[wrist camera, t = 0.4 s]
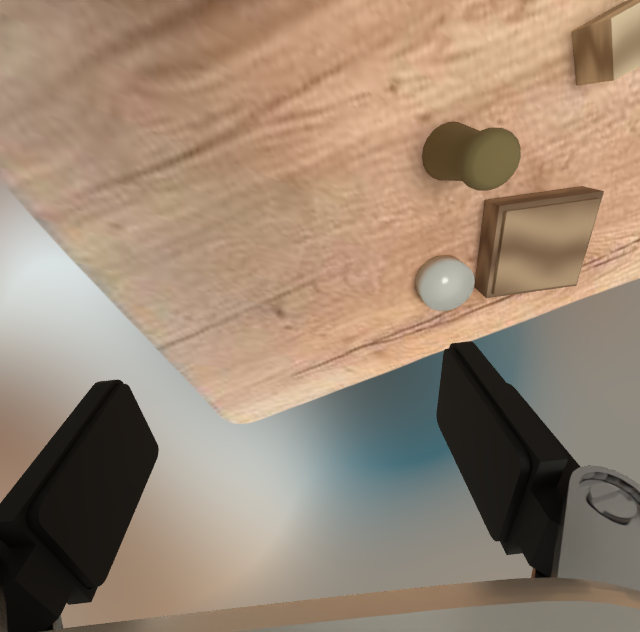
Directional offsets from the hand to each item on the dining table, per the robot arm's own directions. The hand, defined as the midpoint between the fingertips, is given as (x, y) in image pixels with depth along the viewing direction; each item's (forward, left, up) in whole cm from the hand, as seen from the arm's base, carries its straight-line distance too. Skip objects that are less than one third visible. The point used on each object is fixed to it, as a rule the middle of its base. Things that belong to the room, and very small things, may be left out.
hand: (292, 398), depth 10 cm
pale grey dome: (+14, +18, -34) cm, 41 cm away
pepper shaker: (-2, +18, -34) cm, 39 cm away
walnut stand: (+10, +29, -34) cm, 46 cm away
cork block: (-10, +33, -34) cm, 49 cm away
